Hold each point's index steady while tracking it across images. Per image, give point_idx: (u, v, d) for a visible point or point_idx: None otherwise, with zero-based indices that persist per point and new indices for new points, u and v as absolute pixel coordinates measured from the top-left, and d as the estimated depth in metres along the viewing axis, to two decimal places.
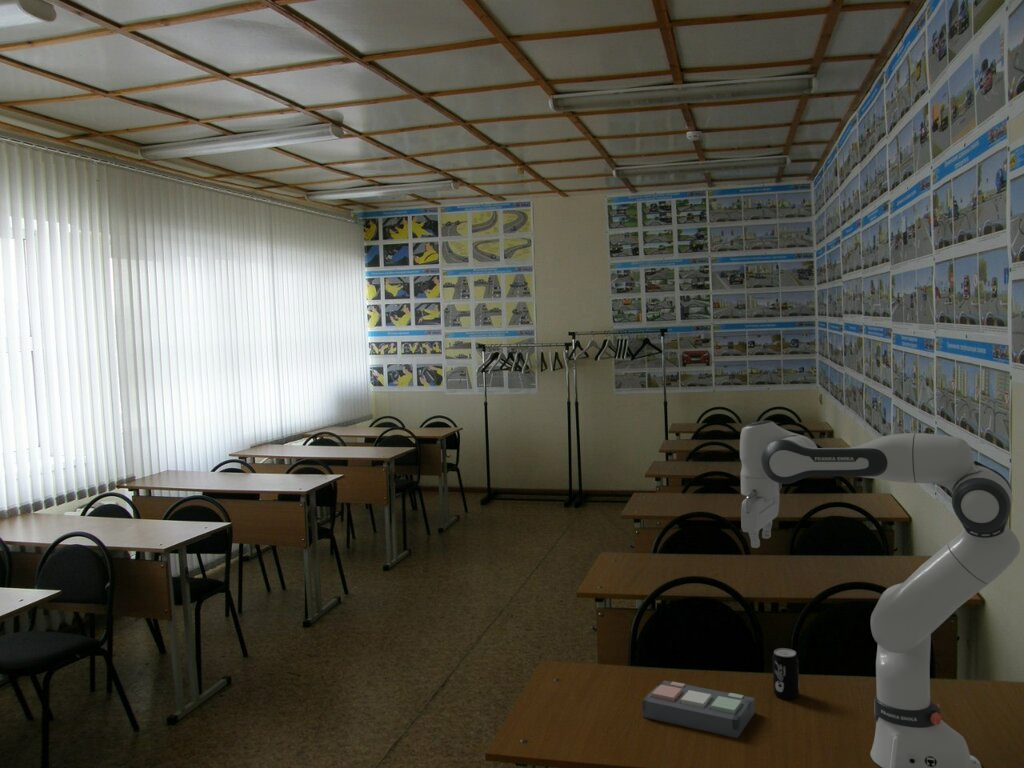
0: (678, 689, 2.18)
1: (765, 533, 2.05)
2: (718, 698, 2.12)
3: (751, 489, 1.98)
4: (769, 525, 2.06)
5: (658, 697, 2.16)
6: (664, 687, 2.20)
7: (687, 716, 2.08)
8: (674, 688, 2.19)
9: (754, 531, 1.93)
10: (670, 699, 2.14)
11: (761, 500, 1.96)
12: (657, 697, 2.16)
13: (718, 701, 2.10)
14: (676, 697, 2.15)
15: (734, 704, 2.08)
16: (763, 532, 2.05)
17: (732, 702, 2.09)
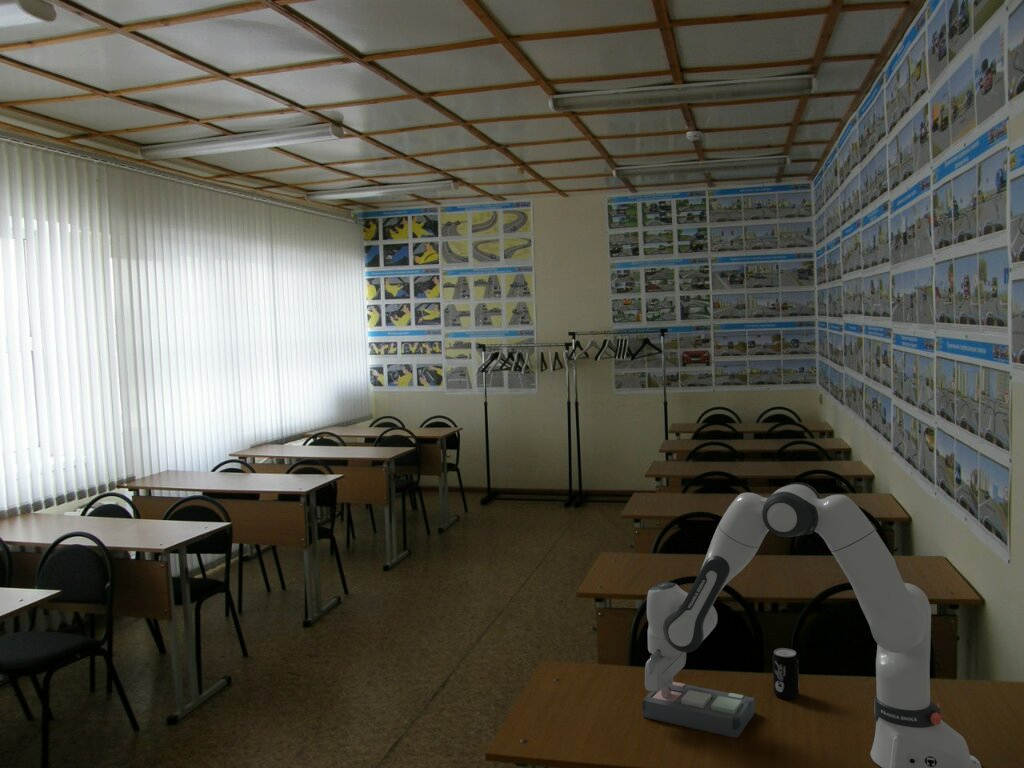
0: (678, 694, 2.18)
1: None
2: (718, 698, 2.12)
3: (655, 648, 2.14)
4: (670, 682, 2.18)
5: None
6: None
7: (687, 716, 2.08)
8: (674, 692, 2.19)
9: (656, 691, 2.09)
10: None
11: (664, 660, 2.12)
12: None
13: (718, 701, 2.10)
14: None
15: (734, 704, 2.08)
16: None
17: (732, 702, 2.09)
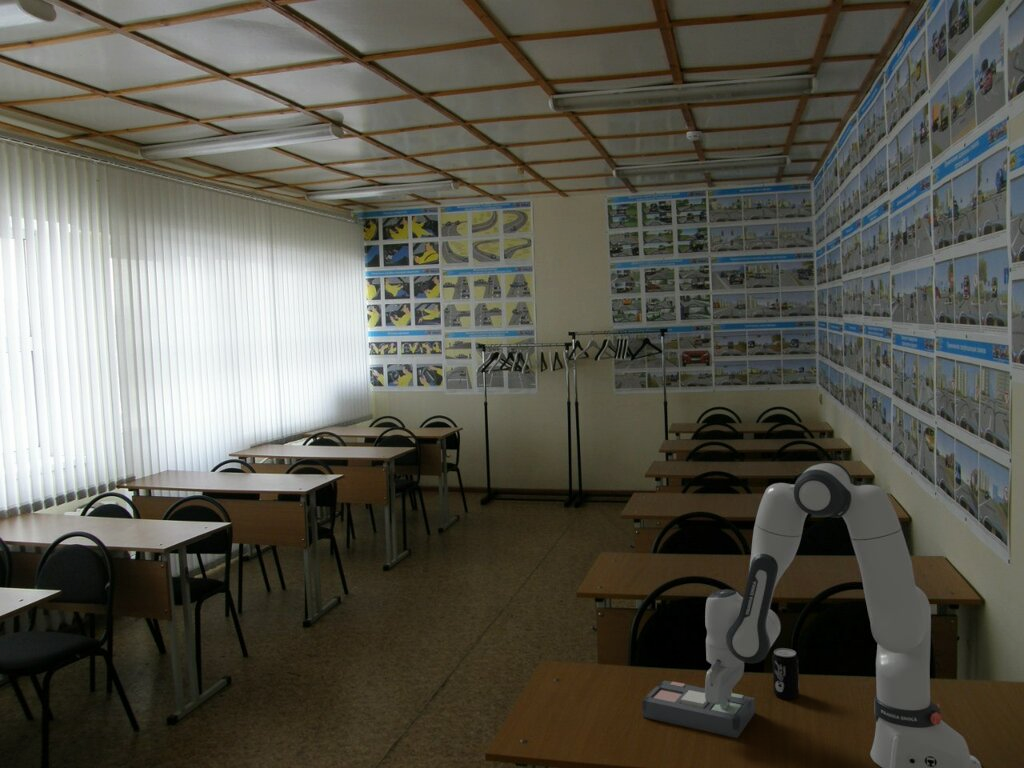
0: (678, 695, 2.18)
1: None
2: None
3: (715, 658, 2.05)
4: (729, 693, 2.10)
5: None
6: (664, 692, 2.20)
7: (687, 716, 2.08)
8: (674, 694, 2.19)
9: (717, 703, 2.00)
10: None
11: (725, 670, 2.03)
12: None
13: (718, 706, 2.10)
14: None
15: (734, 708, 2.08)
16: None
17: (732, 706, 2.09)
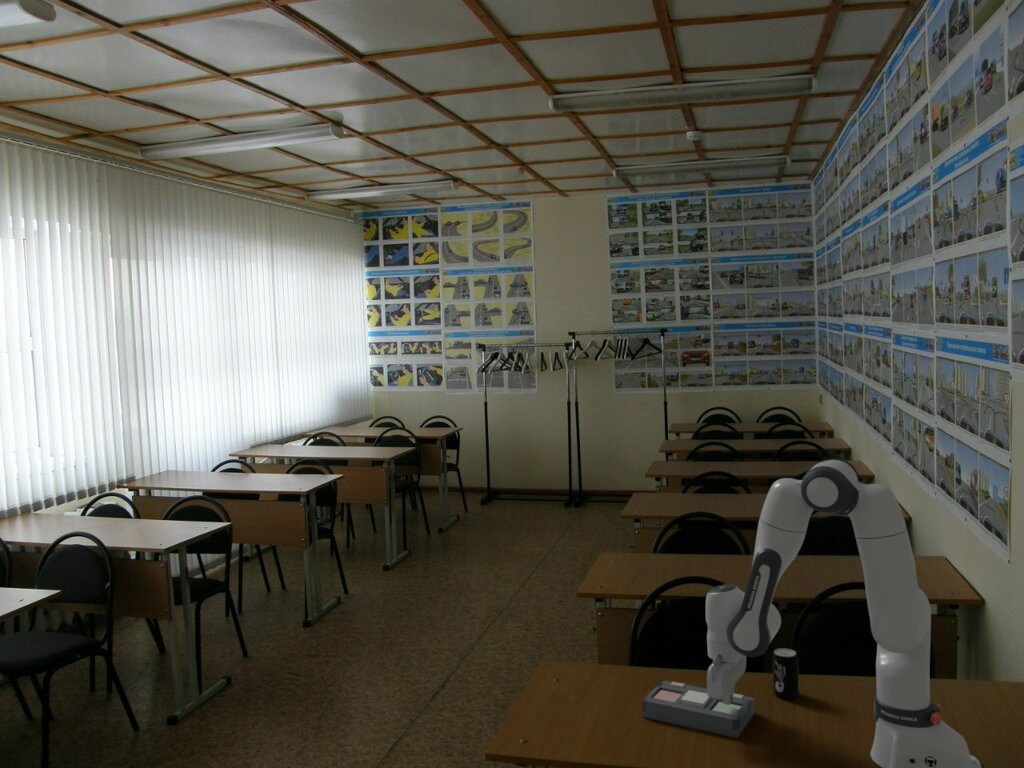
0: (678, 695, 2.18)
1: None
2: (718, 704, 2.12)
3: (717, 654, 2.05)
4: (731, 688, 2.09)
5: None
6: (664, 692, 2.20)
7: (687, 716, 2.08)
8: (674, 694, 2.19)
9: (719, 698, 2.00)
10: None
11: (726, 665, 2.03)
12: None
13: (718, 707, 2.10)
14: None
15: (734, 709, 2.08)
16: None
17: (732, 708, 2.09)
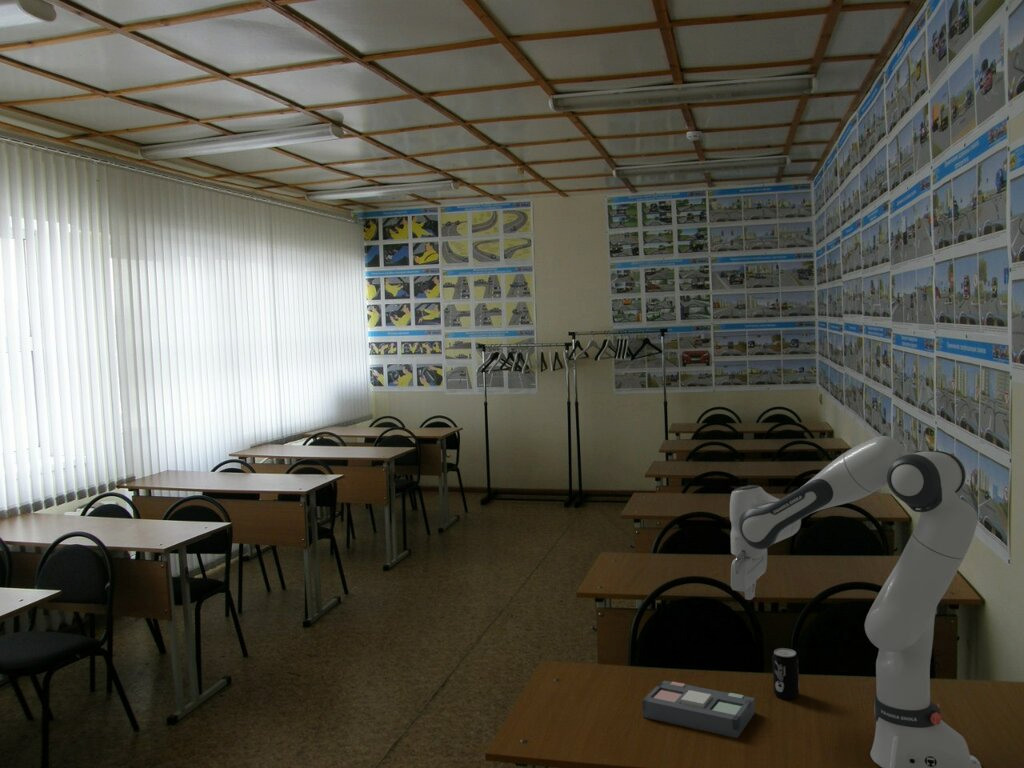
0: (678, 695, 2.18)
1: None
2: (718, 704, 2.12)
3: (740, 550, 2.13)
4: (753, 585, 2.18)
5: None
6: (664, 692, 2.20)
7: (687, 716, 2.08)
8: (674, 694, 2.19)
9: (743, 590, 2.08)
10: None
11: (749, 560, 2.11)
12: None
13: (718, 707, 2.10)
14: None
15: (734, 709, 2.08)
16: None
17: (732, 708, 2.09)
